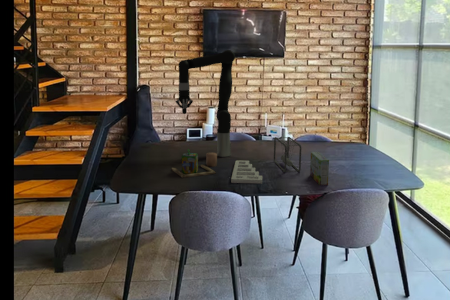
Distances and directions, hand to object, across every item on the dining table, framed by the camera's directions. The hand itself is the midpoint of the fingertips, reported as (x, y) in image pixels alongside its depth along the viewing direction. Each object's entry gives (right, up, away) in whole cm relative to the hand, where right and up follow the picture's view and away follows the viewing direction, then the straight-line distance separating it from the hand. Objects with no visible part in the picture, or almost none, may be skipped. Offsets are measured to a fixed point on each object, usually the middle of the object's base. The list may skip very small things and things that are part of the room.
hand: (184, 113), depth 316 cm
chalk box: (+7, -40, -35) cm, 54 cm away
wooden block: (+20, -36, -18) cm, 45 cm away
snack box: (+85, -44, -51) cm, 108 cm away
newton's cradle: (+69, -37, -22) cm, 82 cm away
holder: (+43, -41, -36) cm, 69 cm away
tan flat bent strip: (+9, -40, -34) cm, 53 cm away
